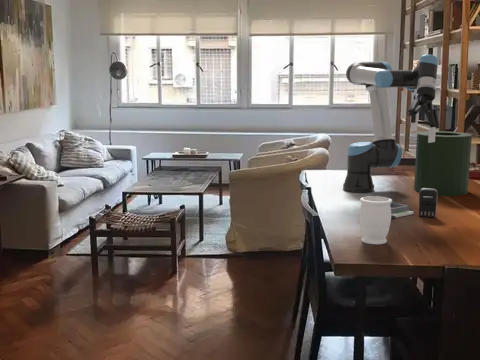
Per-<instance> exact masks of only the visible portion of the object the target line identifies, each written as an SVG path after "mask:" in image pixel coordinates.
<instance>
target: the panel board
mask: <svg viewBox="0 0 480 360" xmlns="http://www.w3.org/2000/svg"><path fill="white" fill-rule="evenodd" d="M390 207H391V215H392V216H396V218H400V217H407V216H410V215H411V216H412V215H414V211H412V210H410V206H409V205H407V204H402V203H398V202H394V201H392V203H391V204H390Z"/></svg>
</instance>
